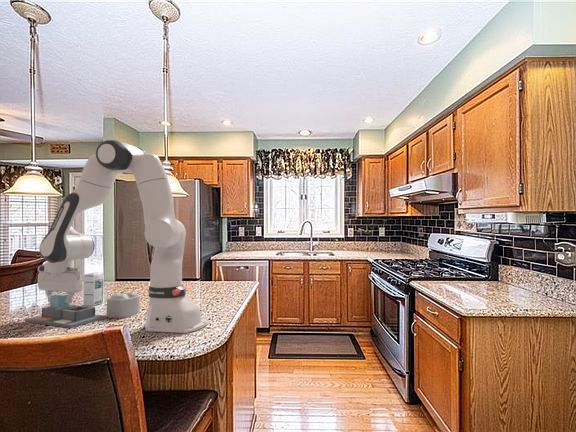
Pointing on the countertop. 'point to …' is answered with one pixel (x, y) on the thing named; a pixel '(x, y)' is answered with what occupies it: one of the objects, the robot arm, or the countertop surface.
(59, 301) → the teal upright block
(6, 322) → the countertop surface
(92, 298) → the syrup box
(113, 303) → the lumpy-topped squat cylinder
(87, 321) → the socket board
